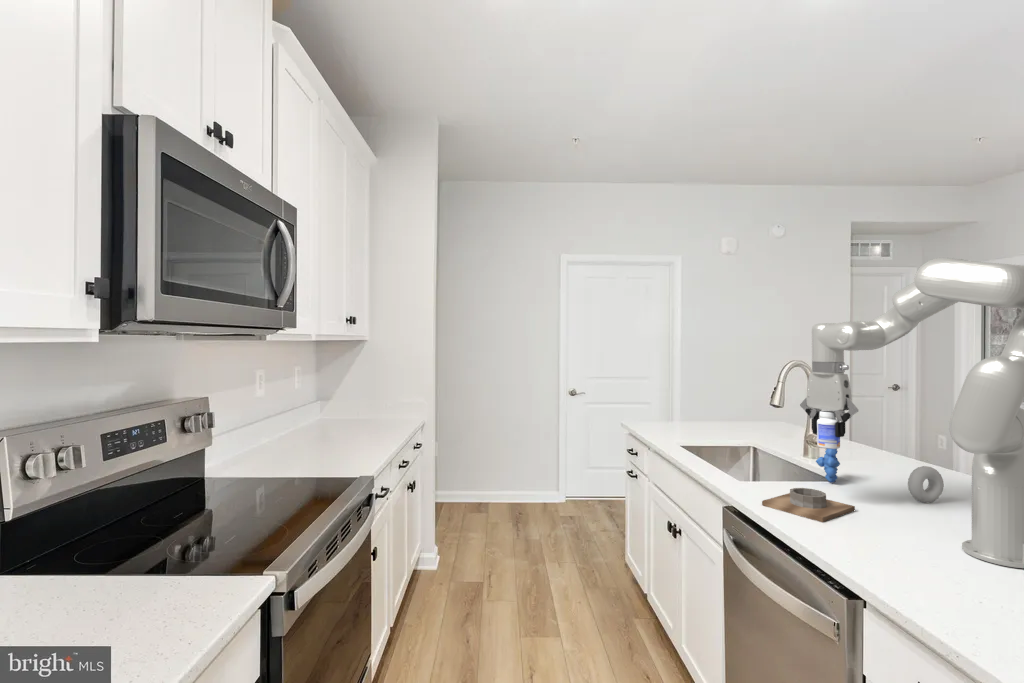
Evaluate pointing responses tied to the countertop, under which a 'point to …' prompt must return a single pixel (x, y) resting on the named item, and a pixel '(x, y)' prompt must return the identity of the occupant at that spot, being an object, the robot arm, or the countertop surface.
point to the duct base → (809, 512)
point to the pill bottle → (827, 431)
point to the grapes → (829, 464)
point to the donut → (933, 484)
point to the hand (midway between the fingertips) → (828, 434)
